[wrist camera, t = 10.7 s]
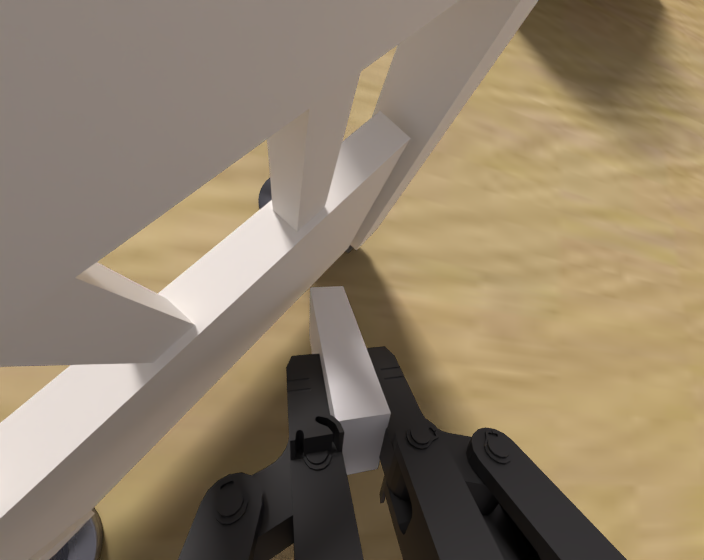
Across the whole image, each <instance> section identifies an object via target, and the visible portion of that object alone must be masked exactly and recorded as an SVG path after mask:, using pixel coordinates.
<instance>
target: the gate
mask: <svg viewBox="0 0 704 560" xmlns="http://www.w3.org/2000/svg"><path fill="white" fill-rule="evenodd" d="M537 2H538V0H0V367H7V366H48V365H70V366H69V367H68V368H67V369H65V370H64V371H63V372H62V373H61V374H59V375H58V376H57V377H56V378H55V379H53V380H52V381H51V382H50V383H48V384H47V385H46V386H45V387H44V388H42V389H41V390H40V391H39V392H37V393H36V394H35V395H34V396H33V397H31V398H30V399H29V400H28V401H27V402H25V403H24V404H23V405H22V406H20V407H19V408H18V409H17V410H16V411H14V412H13V413H12V414H11V415H10V416H8V417H7V418H6V419H5V420H3V421H2V422H1V423H0V560H49V559H50V558H51V557H52V556H54V555H55V554H56V553H57V552H58V551H59V550H60V549H61V548H62V547H63V546H64V545H65V544H66V543H67V542H68V541H69V540H70V539H71V537H72V536H73V535H74V534H75V533H76V532H77V531H78V530H79V529H80V528H81V527H82V526H83V525H84V524H85V523H86V522H87V521H88V520H89V519H90V518H91V517H92V516H93V515H94V514H95V513H94V512H93V511H92V509H93V508H94V507H95V506H96V505H97V504H98V503H99V502H100V501H101V500H102V499H103V498H104V497H105V495H106V494H107V493H108V492H109V491H110V490H111V489H112V488H113V487H114V486H115V485H116V484H117V483H118V482H119V481H120V480H121V479H122V478H123V477H124V476H125V475H126V474H127V473H128V472H129V471H130V470H131V469H132V468H133V467H134V466H135V465H136V464H137V463H138V462H139V461H140V460H141V459H142V458H143V457H144V456H145V455H146V454H147V453H148V452H149V451H150V450H151V449H152V448H153V447H154V446H155V445H156V444H157V442H158V441H159V440H160V439H161V438H162V437H163V436H164V435H165V434H166V433H167V432H168V431H169V430H170V429H171V428H172V427H173V426H174V425H175V424H176V423H177V422H178V421H179V420H180V419H181V418H182V417H183V416H184V415H185V414H186V413H187V412H188V411H189V410H190V409H191V408H192V407H193V406H194V405H195V404H196V403H197V402H198V401H199V400H200V399H201V398H202V397H203V396H204V395H205V394H206V393H207V392H208V391H209V389H210V388H211V387H212V386H213V385H214V384H215V383H216V382H217V381H218V380H219V379H220V378H221V377H222V376H223V375H224V374H225V373H226V372H227V371H228V370H229V369H230V368H231V367H232V366H233V365H234V364H235V363H236V362H237V361H238V360H239V359H240V358H241V357H242V356H243V355H244V354H245V353H246V352H247V351H248V350H249V349H250V348H251V347H252V346H253V345H254V344H255V343H256V342H257V341H258V340H259V339H260V338H261V336H262V335H263V334H264V333H265V332H266V331H267V330H268V329H269V328H270V327H271V326H272V325H273V324H274V323H275V322H276V321H277V320H278V319H279V318H280V317H281V316H282V315H283V314H284V313H285V312H286V311H287V310H288V309H289V308H290V307H291V306H292V305H293V304H294V303H295V302H296V301H297V300H298V299H299V298H300V297H301V296H302V295H303V294H304V293H305V292H306V291H307V290H308V289H309V288H310V287H311V286H312V285H313V283H314V282H315V281H316V280H317V279H318V278H319V277H320V276H321V275H322V274H323V273H324V272H325V271H326V270H327V269H328V268H329V267H330V266H331V265H332V264H333V263H334V262H335V261H336V260H337V259H338V258H339V257H340V256H341V255H342V254H343V253H344V252H345V251H346V252H347V253H349V252H350V251H351V250H352V249H353V248H354V249H355V250H357V249H358V248H359V247H360V246H361V245H362V244H363V243H364V242H365V241H366V240H367V239H368V238H369V237H370V236H371V235H372V234H373V233H374V232H375V231H376V230H377V228H378V227H379V225H380V224H381V223H382V221H383V220H384V218H385V217H386V216H387V214H388V213H389V211H390V210H391V208H392V207H393V206H394V204H395V203H396V201H397V200H398V199H399V197H400V196H401V194H402V193H403V191H404V190H405V189H406V187H407V186H408V184H409V183H410V182H411V180H412V179H413V177H414V176H415V175H416V173H417V172H418V170H419V169H420V167H421V166H422V165H423V163H424V162H425V160H426V159H427V158H428V156H429V155H430V153H431V152H432V150H433V149H434V148H435V146H436V145H437V143H438V142H439V141H440V139H441V138H442V136H443V135H444V133H445V132H446V131H447V129H448V128H449V126H450V125H451V124H452V122H453V121H454V119H455V118H456V116H457V115H458V114H459V112H460V111H461V109H462V108H463V107H464V105H465V104H466V102H467V101H468V99H469V98H470V97H471V95H472V94H473V92H474V91H475V90H476V88H477V87H478V85H479V84H480V83H481V81H482V80H483V78H484V77H485V75H486V74H487V73H488V71H489V70H490V68H491V67H492V66H493V64H494V63H495V61H496V60H497V58H498V57H499V56H500V54H501V53H502V51H503V50H504V49H505V47H506V46H507V44H508V43H509V41H510V40H511V39H512V37H513V36H514V34H515V33H516V32H517V30H518V29H519V27H520V26H521V24H522V23H523V22H524V20H525V19H526V17H527V16H528V15H529V13H530V12H531V10H532V9H533V7H534V6H535V5H536V3H537ZM397 45H398V46H397ZM395 46H397V49H396V51H395V54H394V57H393V60H392V62H391V65H390V68H389V71H388V74H387V76H386V79H385V82H384V85H383V88H382V90H381V93H380V96H379V99H378V101H377V104H376V107H375V110H374V113H373V115H372V118H371V119H369V120H368V121H367V122H366V123H365V124H363V125H362V126H361V127H360V128H359V129H357V130H356V131H355V132H354V133H352V134H351V135H350V136H349V137H348V138H346V139H345V140H344V141H343V137H344V133H345V129H346V126H347V122H348V118H349V114H350V110H351V107H352V103H353V99H354V95H355V91H356V88H357V84H358V80H359V76H360V73H361V71H362V70H363V69H365V68H366V67H368V66H369V65H370V64H372V63H373V62H374V61H376V60H377V59H379V58H380V57H381V56H383V55H384V54H386V53H387V52H388V51H390V50H391V49H392V48H394V47H395ZM265 140H267V143H268V156H269V169H270V181H271V194H272V200H271V201H270V202H269V203H267V204H266V205H265V206H264V207H262V208H261V209H260V210H259V211H258V212H256V213H255V214H254V215H253V216H252V217H250V218H249V219H248V220H247V221H245V222H244V223H243V224H242V225H241V226H239V227H238V228H237V229H236V230H234V231H233V232H232V233H231V234H230V235H228V236H227V237H226V238H225V239H224V240H222V241H221V242H220V243H219V244H217V245H216V246H215V247H214V248H213V249H211V250H210V251H209V252H208V253H207V254H205V255H204V256H203V257H202V258H200V259H199V260H198V261H197V262H196V263H194V264H193V265H192V266H191V267H189V268H188V269H187V270H186V271H185V272H183V273H182V274H181V275H180V276H179V277H177V278H176V279H175V280H174V281H172V282H171V283H170V284H169V285H168V286H166V287H165V288H164V289H163V290H162V291H160V292H159V293H158V294H157V293H155V292H153V291H151V290H149V289H147V288H145V287H144V286H142V285H140V284H138V283H136V282H134V281H132V280H130V279H128V278H126V277H124V276H122V275H120V274H118V273H117V272H115V271H113V270H111V269H109V268H107V267H105V266H103V265H101V264H99V263H97V262H98V261H99V260H100V259H102V258H103V257H105V256H106V255H107V254H109V253H110V252H111V251H113V250H114V249H116V248H117V247H118V246H120V245H121V244H123V243H124V242H125V241H127V240H128V239H129V238H131V237H132V236H134V235H135V234H136V233H138V232H139V231H141V230H142V229H143V228H145V227H146V226H147V225H149V224H150V223H152V222H153V221H154V220H156V219H157V218H159V217H160V216H161V215H163V214H164V213H165V212H167V211H168V210H170V209H171V208H172V207H174V206H175V205H177V204H178V203H179V202H181V201H182V200H183V199H185V198H186V197H188V196H189V195H190V194H192V193H193V192H195V191H196V190H197V189H199V188H200V187H201V186H203V185H204V184H206V183H207V182H208V181H210V180H211V179H213V178H214V177H215V176H217V175H218V174H219V173H221V172H222V171H224V170H225V169H226V168H228V167H229V166H231V165H232V164H233V163H235V162H236V161H237V160H239V159H240V158H242V157H243V156H244V155H246V154H247V153H249V152H250V151H251V150H253V149H254V148H255V147H257V146H258V145H260V144H261V143H262V142H264V141H265ZM342 141H343V142H342Z"/></svg>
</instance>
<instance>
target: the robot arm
mask: <svg viewBox="0 0 704 560" xmlns="http://www.w3.org/2000/svg"><path fill="white" fill-rule="evenodd" d="M309 337H310V343H311V350H312V354H309V355H298V356H292V357H291V359H290V361H289V363H288V365H287V367H286V372H287V400H288V423H289V441H288V444H287V447H286V449H285V451H284V452H283V454H282V455H281V456H280V457H279V458H278V459H277V461H276V462H274V463H273V464H271V465H270V466H268V467H266V468H265V469H263V470H261V471H259V472H257V473H255V474H253V475H252V476H251V475H248V474H245V473H235V474H229V475H227V476H226V477H224V478H222V479H220V480H218V481H217V482H216V483H215V484H214V485H213V486H212V487H211V488H210V489H209V490H208V491H207V493H206V495H205V496H204V498H203V500H202V502H201V504H200V506H199V509H198V511H197V514H196V516H195V519H194V521H193V524H192V526H191V529H190V531H189V534H188V536H187V539H186V541H185V544H184V546H183V549H182V551H181V554H180V556H179V559H178V560H270V559H271V558H273V557H274V556H276V555H277V554H278V553H280V552H281V551H283V550H284V549H286V548H287V547H288V546H290V545H291V544H293V543H294V560H364V559H363V554H362V549H361V544H360V539H359V534H358V529H357V524H356V519H355V514H354V509H353V504H352V498H351V493H350V488H349V483H348V478H347V475H349V474H354V473H359V472H364V471H369V470H375V469H378V466H379V461H381V465H382V468H383V471H384V475H385V476H384V479H383V483H382V487H381V491H380V503H383V502H384V500H385V497H386V500H387V504H388V507H389V511H390V514H391V518H392V521H393V525H394V529H395V532H396V536H397V539H398V543H399V546H400V550H401V554H402V557H403V560H627V559H626V558H625V557H624V556H623V555H622V554H621V553H620V552H619V551H618V550H617V549H616V548H615V547H614V546H613V545H612V544H611V543H610V542H609V541H608V540H607V539H606V537H605V536H604V535H603V534H602V533H601V532H600V531H599V530H598V529H597V528H596V527H595V526H594V525H593V524H592V523H591V522H590V521H589V520H588V519H587V518H586V517H585V516H584V515H583V513H582V512H581V511H580V510H579V509H578V508H577V507H576V506H575V505H574V504H573V503H572V502H571V501H570V500H569V499H568V498H567V497H566V496H565V495H564V494H563V493H562V492H561V491H560V490H559V488H558V487H557V486H556V485H555V484H554V483H553V482H552V481H551V480H550V479H549V478H548V477H547V476H546V475H545V474H544V473H543V472H542V471H541V470H540V469H539V468H538V467H537V466H536V464H535V463H534V462H533V461H532V460H531V459H530V458H529V457H528V456H527V455H526V454H525V453H524V452H523V451H522V450H521V449H520V448H519V447H518V446H517V445H516V444H515V443H514V442H513V441H512V440H511V439H510V438H509V437H508V436H506V435H505V434H504V433H502V432H500V431H498V430H496V429H491V428H481V429H478V430H477V431H476V432H475V433H474V434H473V436H472V437H469V436H463V435H457V434H451V433H447V432H444V431H441V430H439V429H437V427H436V426H435V425H434V424H433V423H431V422H430V421H429V420H427V419H425V417H424V416H423V414H422V413H421V411H420V408H419V406H418V404H417V402H416V400H415V398H414V396H413V394H412V392H411V390H410V387H409V385H408V383H407V381H406V379H405V378H404V375H403V373H402V371H401V369H400V366H399V364H398V362H397V360H396V358H395V356H394V355H393V354H392V353H391V352H390V351H389V350H388V349H387V348H386V347H385V346H384V347H373V348H366V346H365V343H364V340H363V338H362V335H361V332H360V330H359V327H358V324H357V322H356V319H355V316H354V314H353V311H352V308H351V306H350V303H349V300H348V298H347V295H346V292H345V290H344V287H343V286H333V287H310V321H309Z"/></svg>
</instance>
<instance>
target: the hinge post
mask: <svg viewBox="0 0 704 560" xmlns="http://www.w3.org/2000/svg"><path fill="white" fill-rule="evenodd" d="M92 511H93V512H94V513H95V514H94V515H93V516H92V517H91V518H90V519H89V520H88V521H87V522H86V523H85V524H84V525H83V526H82V527H81V528H80V529H79V530H78V531H77V532H76V533H75V534H74V535H73V536H72V537H71V539H70V540H69V541H68V542H67V543H66V544H65V545H64V546H63V547H62V548H61V549H60V550H59V551H58V552H57V553H56V554H55V555H54V556H52V557H51V558H50V559H49V560H99V557H100V554H101V549H102V543H103V531H102V524H101V521H100V518H99V516H98V513H97V512H96V510H95V509H94V508H93V509H92Z"/></svg>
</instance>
